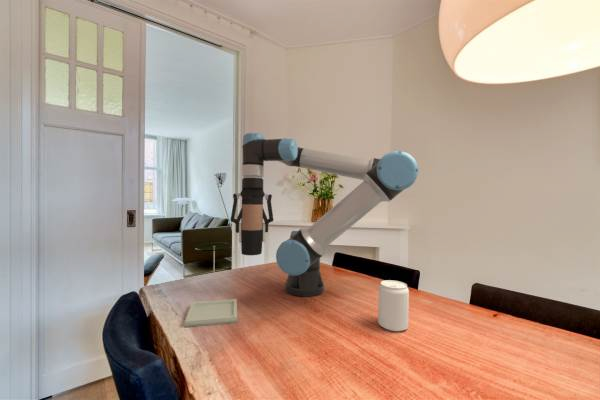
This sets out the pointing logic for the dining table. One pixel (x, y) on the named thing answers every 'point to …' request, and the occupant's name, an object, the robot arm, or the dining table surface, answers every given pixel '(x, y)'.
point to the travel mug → (251, 226)
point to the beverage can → (393, 305)
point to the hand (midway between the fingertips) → (251, 241)
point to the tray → (212, 313)
